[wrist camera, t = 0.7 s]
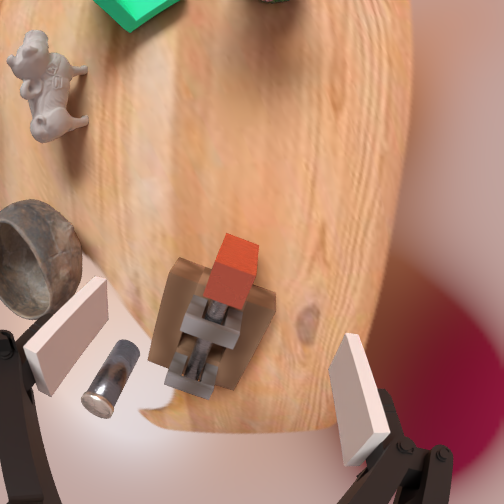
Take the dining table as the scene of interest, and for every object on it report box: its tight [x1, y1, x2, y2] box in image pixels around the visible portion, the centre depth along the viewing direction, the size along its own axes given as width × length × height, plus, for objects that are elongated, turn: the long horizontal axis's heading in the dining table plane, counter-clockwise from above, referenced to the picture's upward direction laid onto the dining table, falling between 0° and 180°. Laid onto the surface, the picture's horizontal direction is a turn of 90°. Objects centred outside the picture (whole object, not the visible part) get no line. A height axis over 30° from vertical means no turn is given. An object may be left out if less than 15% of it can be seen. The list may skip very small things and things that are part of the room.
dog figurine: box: [7, 30, 89, 143], centre depth 22 cm, size 5×13×11 cm, turn 5°
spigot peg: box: [81, 340, 140, 419], centre depth 35 cm, size 4×4×12 cm
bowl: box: [0, 199, 82, 320], centre depth 30 cm, size 14×15×10 cm
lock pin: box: [184, 233, 259, 381], centre depth 31 cm, size 4×18×7 cm, turn 159°
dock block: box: [148, 257, 276, 400], centre depth 34 cm, size 12×14×8 cm
